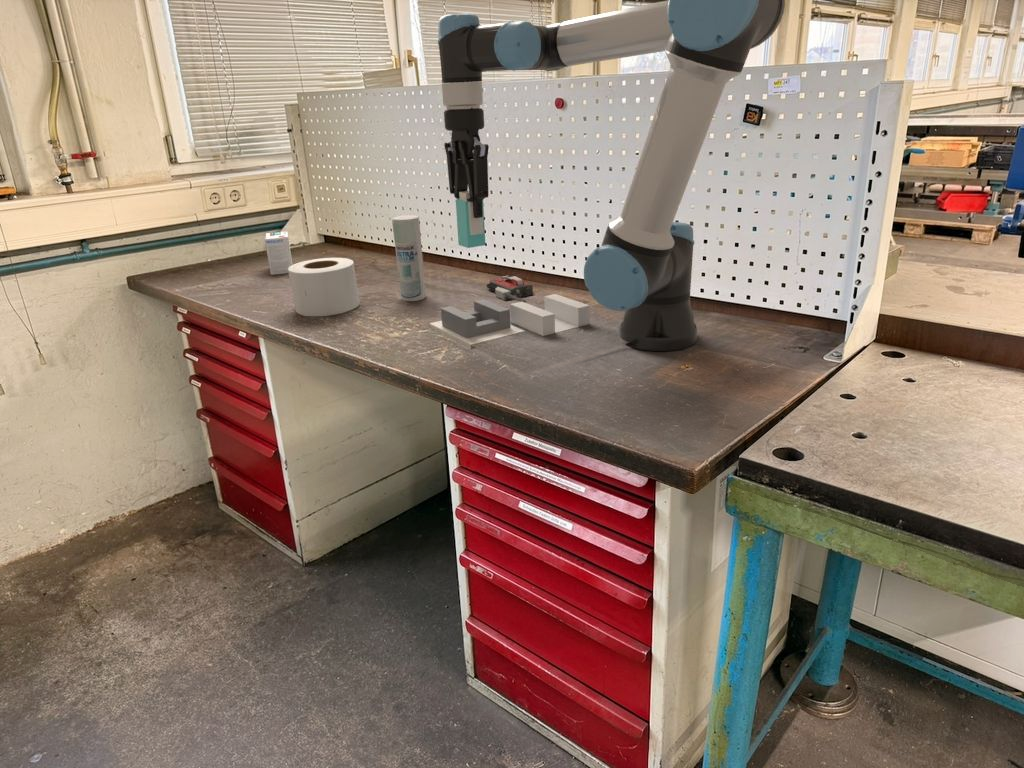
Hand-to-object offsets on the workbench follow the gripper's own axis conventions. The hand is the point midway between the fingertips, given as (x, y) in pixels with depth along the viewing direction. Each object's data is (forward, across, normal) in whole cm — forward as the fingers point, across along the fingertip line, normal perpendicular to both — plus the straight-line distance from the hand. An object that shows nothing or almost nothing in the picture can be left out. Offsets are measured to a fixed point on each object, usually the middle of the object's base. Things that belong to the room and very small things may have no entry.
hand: (470, 232), depth 139 cm
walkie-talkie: (+22, +19, -22) cm, 36 cm away
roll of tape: (+22, +40, +19) cm, 50 cm away
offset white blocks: (+21, -8, -13) cm, 26 cm away
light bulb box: (+22, +90, +17) cm, 95 cm away
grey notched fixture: (+21, 0, 0) cm, 21 cm away
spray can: (+21, +34, -1) cm, 40 cm away
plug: (+3, 0, 0) cm, 3 cm away
